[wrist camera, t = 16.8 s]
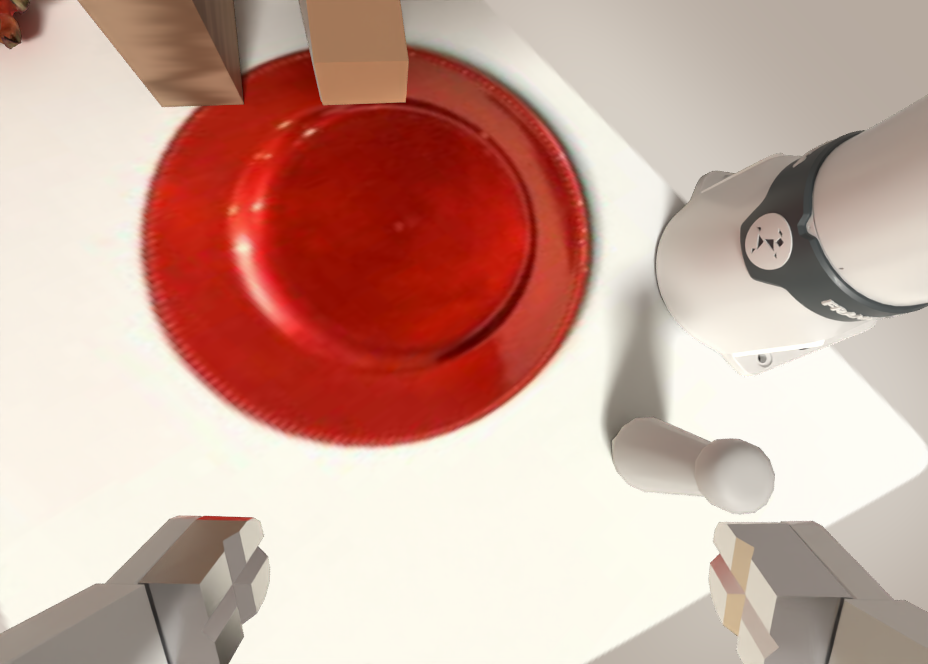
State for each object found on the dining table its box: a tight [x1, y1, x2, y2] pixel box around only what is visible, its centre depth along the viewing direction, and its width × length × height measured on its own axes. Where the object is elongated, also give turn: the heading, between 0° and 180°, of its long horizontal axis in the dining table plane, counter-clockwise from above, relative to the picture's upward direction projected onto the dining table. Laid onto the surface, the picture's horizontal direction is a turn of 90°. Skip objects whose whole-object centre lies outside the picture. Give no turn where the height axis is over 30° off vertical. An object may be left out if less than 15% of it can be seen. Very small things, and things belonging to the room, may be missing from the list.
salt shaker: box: [612, 417, 775, 514], centre depth 33 cm, size 6×6×13 cm
